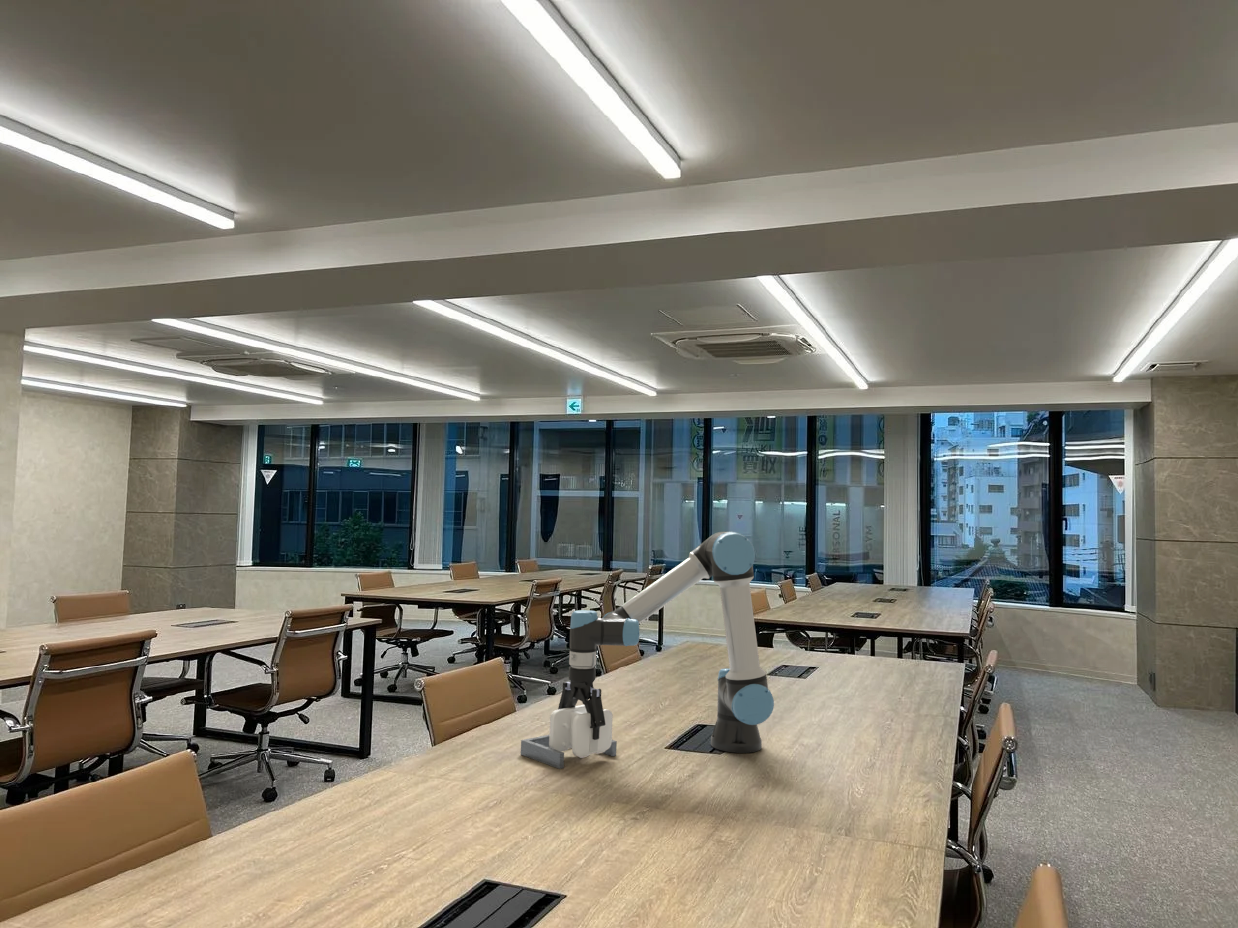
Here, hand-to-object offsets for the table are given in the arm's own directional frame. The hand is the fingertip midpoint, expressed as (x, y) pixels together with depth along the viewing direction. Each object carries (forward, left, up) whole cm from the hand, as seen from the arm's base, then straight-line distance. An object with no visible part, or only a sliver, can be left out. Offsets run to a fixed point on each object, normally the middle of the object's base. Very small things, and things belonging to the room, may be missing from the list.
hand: (579, 746), depth 234 cm
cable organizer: (0, 0, -2) cm, 2 cm away
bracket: (+5, 0, -3) cm, 6 cm away
